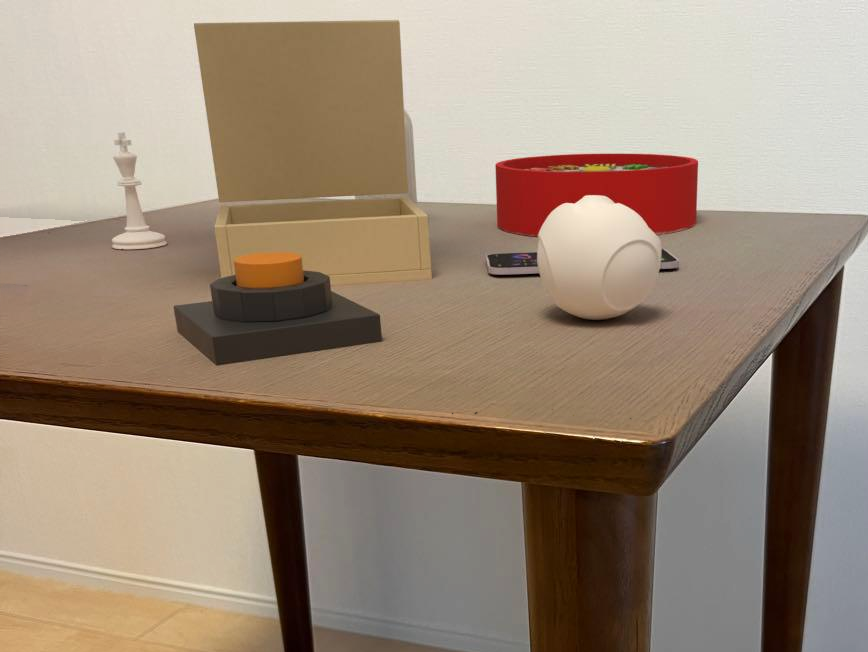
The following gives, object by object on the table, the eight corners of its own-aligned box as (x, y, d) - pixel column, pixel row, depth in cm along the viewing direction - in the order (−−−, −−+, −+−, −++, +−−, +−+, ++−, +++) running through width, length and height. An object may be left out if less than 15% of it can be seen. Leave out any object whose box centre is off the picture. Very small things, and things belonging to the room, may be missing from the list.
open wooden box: (432, 279, 84) (428, 215, 82) (223, 293, 81) (214, 226, 79) (411, 253, 95) (408, 196, 93) (227, 264, 92) (219, 205, 90)
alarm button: (247, 296, 64) (243, 265, 63) (229, 285, 67) (225, 256, 66) (313, 288, 66) (310, 258, 65) (293, 278, 69) (289, 250, 68)
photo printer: (424, 226, 110) (416, 94, 105) (383, 230, 109) (373, 96, 104) (390, 215, 119) (381, 93, 114) (352, 218, 117) (341, 94, 112)
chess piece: (137, 251, 100) (118, 134, 96) (100, 247, 102) (80, 134, 98) (178, 243, 104) (161, 131, 100) (141, 240, 106) (123, 130, 102)
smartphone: (681, 261, 85) (488, 268, 84) (681, 269, 85) (489, 276, 84) (663, 247, 92) (485, 253, 90) (663, 254, 92) (485, 260, 91)
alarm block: (216, 366, 61) (207, 304, 60) (177, 332, 69) (168, 276, 68) (382, 342, 66) (377, 283, 64) (327, 312, 74) (322, 260, 72)
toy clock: (573, 151, 120) (735, 157, 109) (573, 205, 123) (732, 217, 112) (453, 166, 106) (625, 175, 95) (456, 228, 108) (625, 244, 97)
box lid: (399, 20, 86) (393, 13, 89) (193, 24, 82) (195, 16, 86) (408, 193, 93) (401, 180, 96) (219, 202, 90) (219, 188, 93)
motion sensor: (674, 310, 72) (677, 188, 69) (636, 336, 66) (638, 203, 62) (562, 303, 75) (560, 185, 72) (516, 327, 69) (512, 199, 65)
